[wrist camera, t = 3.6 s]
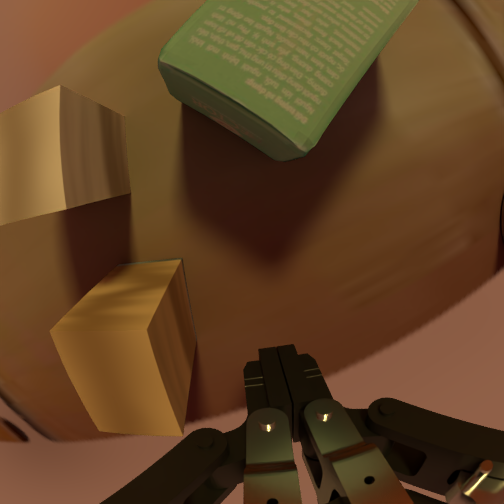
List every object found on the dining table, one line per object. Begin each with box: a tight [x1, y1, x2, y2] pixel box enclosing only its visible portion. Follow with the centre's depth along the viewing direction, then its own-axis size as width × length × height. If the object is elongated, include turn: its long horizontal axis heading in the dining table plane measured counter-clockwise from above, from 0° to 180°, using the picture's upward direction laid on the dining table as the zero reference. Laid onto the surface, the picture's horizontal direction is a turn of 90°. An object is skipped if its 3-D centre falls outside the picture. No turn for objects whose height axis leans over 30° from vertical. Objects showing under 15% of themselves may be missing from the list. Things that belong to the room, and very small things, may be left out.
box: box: [158, 0, 419, 162], centre depth 12 cm, size 7×14×8 cm, turn 146°
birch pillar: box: [0, 85, 131, 225], centre depth 12 cm, size 5×5×8 cm
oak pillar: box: [50, 258, 197, 436], centre depth 14 cm, size 4×6×9 cm
